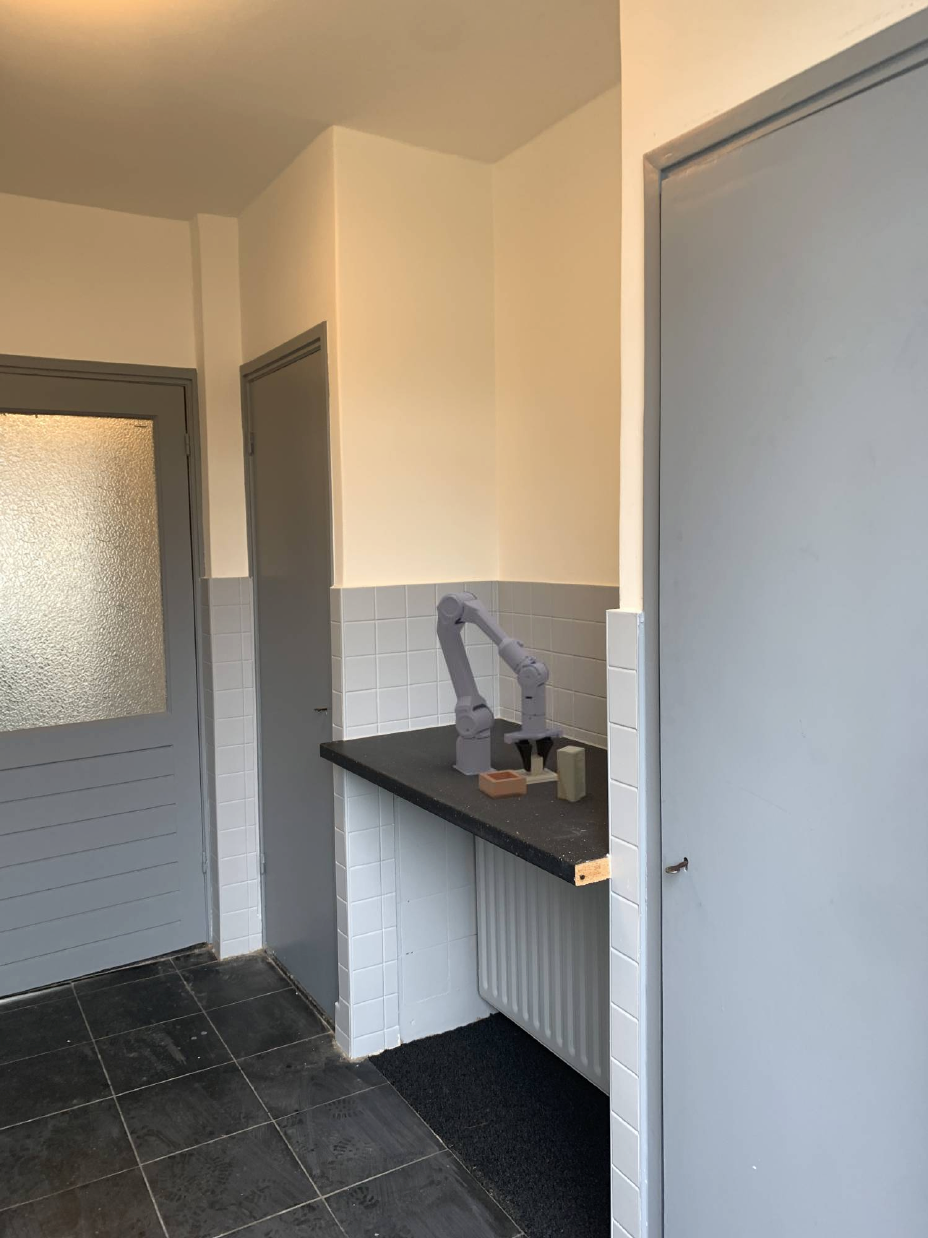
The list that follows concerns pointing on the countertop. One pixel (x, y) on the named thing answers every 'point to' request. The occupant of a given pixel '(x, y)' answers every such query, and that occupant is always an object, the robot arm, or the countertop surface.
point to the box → (571, 773)
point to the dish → (502, 784)
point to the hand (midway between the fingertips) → (534, 770)
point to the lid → (537, 771)
